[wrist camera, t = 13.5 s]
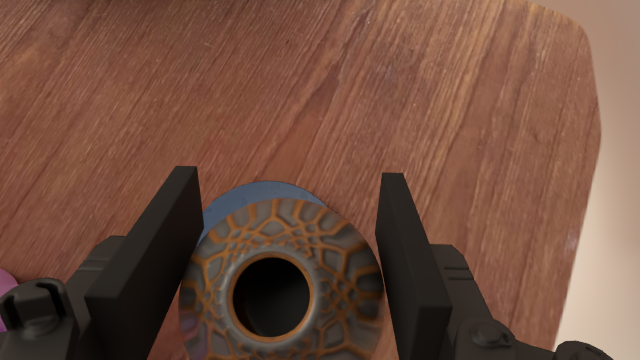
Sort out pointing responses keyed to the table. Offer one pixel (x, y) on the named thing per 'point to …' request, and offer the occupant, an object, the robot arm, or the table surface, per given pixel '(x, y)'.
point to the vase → (282, 287)
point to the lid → (251, 200)
